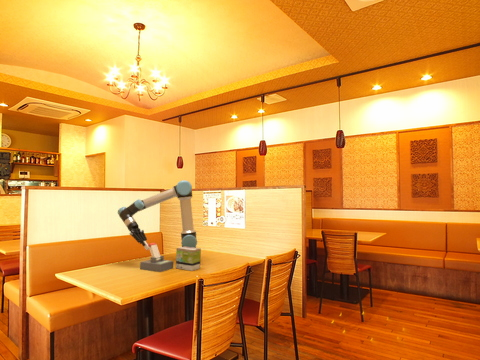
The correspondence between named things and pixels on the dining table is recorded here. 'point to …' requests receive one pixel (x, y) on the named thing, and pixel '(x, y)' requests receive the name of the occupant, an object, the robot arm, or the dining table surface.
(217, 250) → the dining table surface
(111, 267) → the dining table surface
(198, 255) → the tea box
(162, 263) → the breaker housing
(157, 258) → the breaker lever
